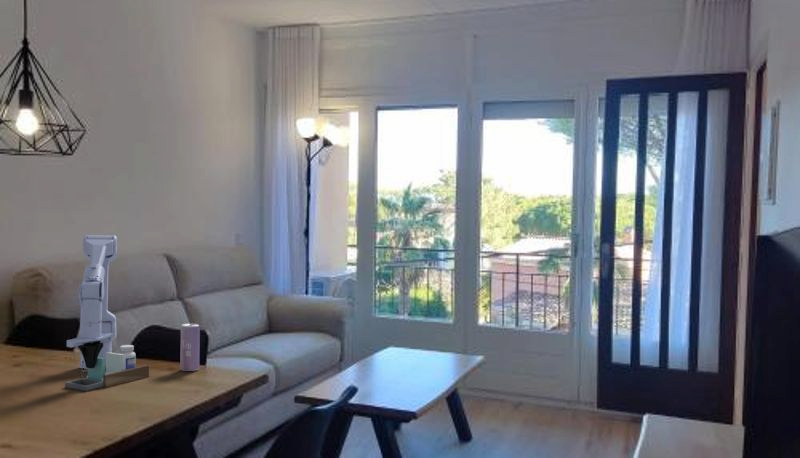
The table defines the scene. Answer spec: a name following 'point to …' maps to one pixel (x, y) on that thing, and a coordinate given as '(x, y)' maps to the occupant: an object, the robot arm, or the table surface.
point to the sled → (107, 366)
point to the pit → (84, 384)
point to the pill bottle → (129, 355)
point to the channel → (122, 375)
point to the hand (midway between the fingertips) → (90, 367)
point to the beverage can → (190, 347)
